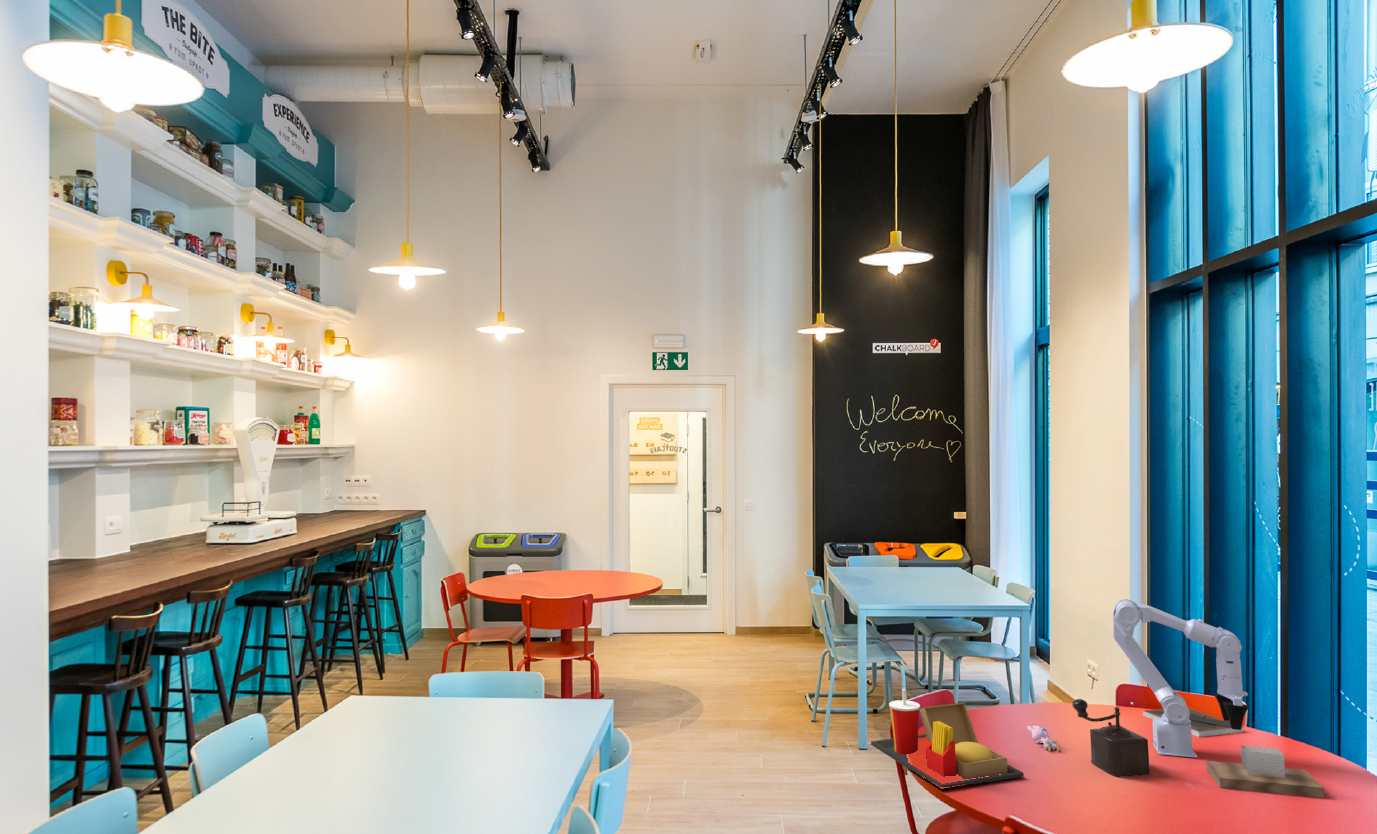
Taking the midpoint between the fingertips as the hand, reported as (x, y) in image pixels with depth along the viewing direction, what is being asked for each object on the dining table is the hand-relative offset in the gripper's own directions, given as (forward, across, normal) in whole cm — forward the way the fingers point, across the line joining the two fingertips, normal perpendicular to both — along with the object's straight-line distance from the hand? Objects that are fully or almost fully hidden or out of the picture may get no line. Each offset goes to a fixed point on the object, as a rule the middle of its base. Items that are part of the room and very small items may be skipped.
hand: (1232, 724), depth 220 cm
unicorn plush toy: (+10, -2, +49) cm, 50 cm away
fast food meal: (+10, -26, +76) cm, 81 cm away
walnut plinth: (+9, -17, -2) cm, 20 cm away
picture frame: (+10, +31, +4) cm, 33 cm away
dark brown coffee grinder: (+10, -18, +33) cm, 39 cm away
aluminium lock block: (+7, -17, -2) cm, 19 cm away
